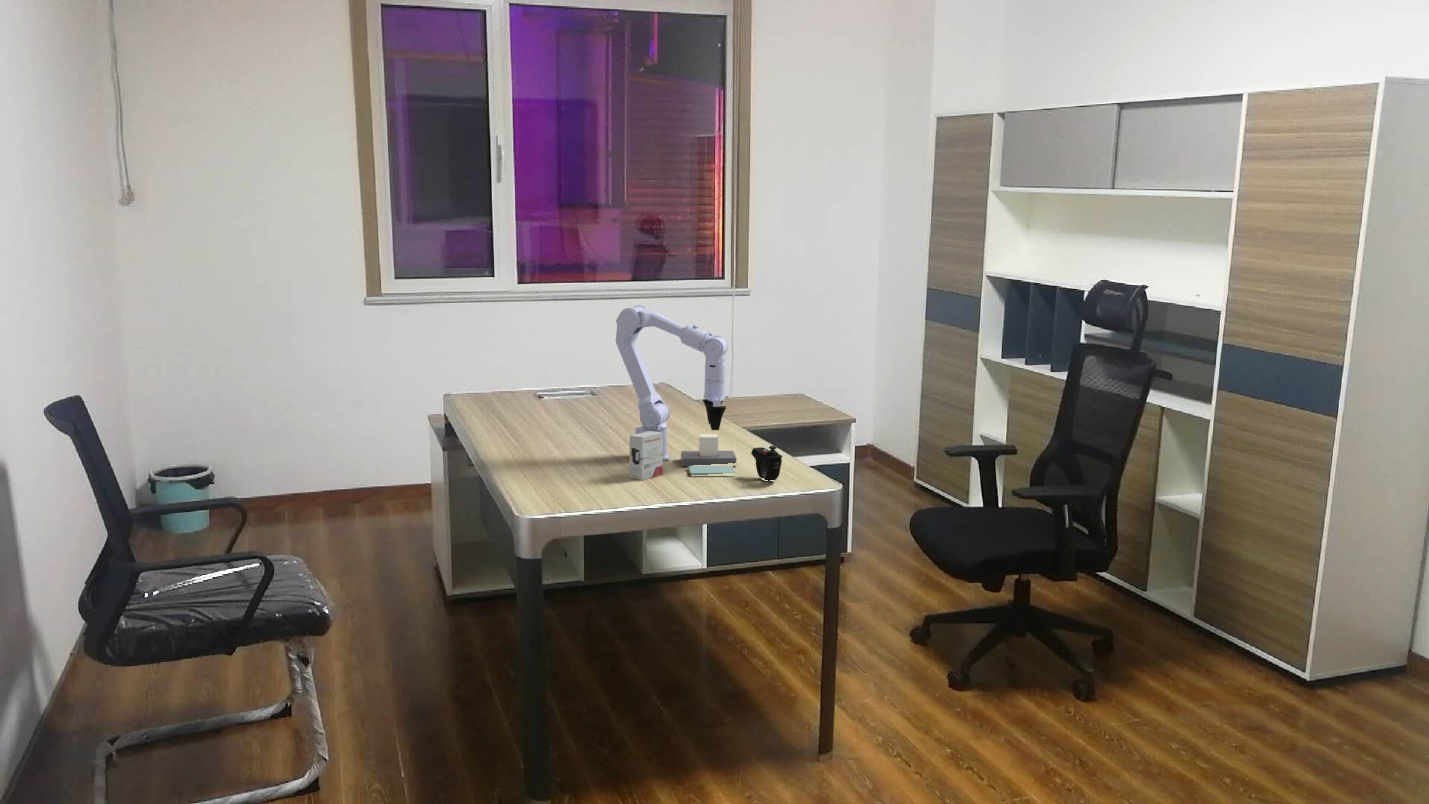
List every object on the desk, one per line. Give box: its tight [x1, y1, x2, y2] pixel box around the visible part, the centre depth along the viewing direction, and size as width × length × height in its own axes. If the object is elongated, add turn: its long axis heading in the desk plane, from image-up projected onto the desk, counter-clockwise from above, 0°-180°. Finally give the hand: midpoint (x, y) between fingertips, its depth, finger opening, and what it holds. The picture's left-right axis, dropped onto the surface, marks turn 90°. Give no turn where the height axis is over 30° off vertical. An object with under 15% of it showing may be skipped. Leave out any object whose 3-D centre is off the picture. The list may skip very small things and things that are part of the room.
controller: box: [750, 445, 783, 482], centre depth 293 cm, size 4×12×10 cm, turn 24°
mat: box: [688, 466, 736, 475], centre depth 300 cm, size 12×8×1 cm, turn 95°
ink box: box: [629, 431, 664, 481], centre depth 295 cm, size 9×5×12 cm, turn 141°
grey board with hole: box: [680, 450, 737, 467], centre depth 311 cm, size 15×9×2 cm, turn 95°
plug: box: [698, 433, 719, 457], centre depth 311 cm, size 5×4×8 cm
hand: (713, 427), depth 310 cm, fingers open, 7 cm apart
